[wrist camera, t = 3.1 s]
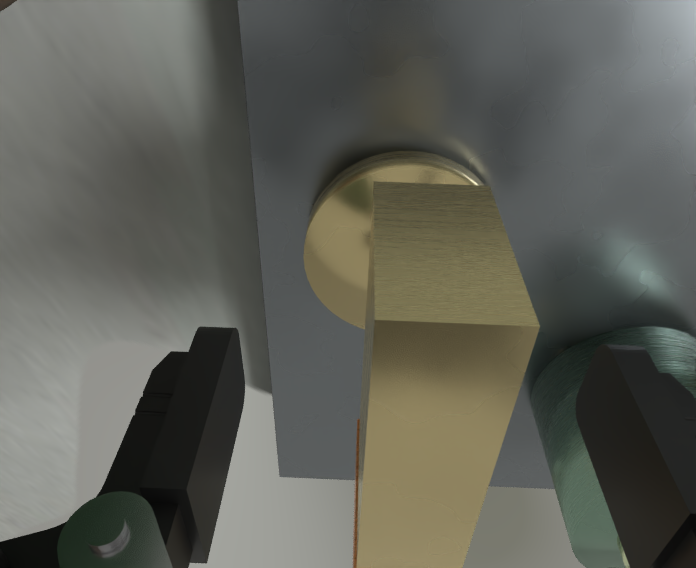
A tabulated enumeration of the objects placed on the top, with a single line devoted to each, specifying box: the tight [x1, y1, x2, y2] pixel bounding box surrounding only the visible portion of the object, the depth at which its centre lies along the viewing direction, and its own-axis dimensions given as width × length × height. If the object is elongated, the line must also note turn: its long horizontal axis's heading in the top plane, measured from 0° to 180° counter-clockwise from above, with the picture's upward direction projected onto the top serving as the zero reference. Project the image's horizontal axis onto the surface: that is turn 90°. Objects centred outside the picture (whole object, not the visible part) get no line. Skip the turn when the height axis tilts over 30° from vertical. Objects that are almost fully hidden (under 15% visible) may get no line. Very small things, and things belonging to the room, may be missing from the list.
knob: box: [303, 151, 540, 568], centre depth 12 cm, size 8×5×8 cm
